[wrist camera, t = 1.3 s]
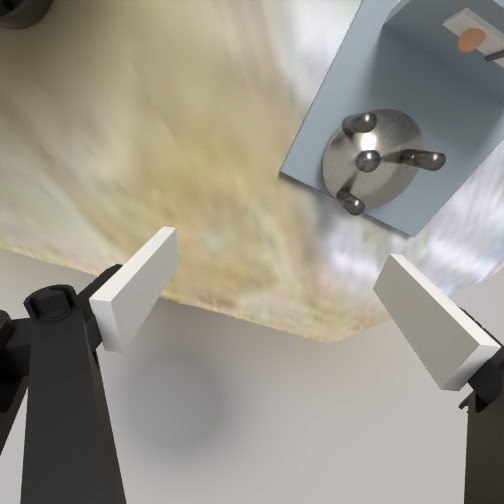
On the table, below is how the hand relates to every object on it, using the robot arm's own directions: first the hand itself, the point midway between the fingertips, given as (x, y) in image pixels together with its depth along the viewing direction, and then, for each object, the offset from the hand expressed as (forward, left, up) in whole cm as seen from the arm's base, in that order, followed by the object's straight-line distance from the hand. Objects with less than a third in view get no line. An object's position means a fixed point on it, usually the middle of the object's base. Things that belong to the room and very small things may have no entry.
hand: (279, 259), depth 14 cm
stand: (+12, +12, -23) cm, 29 cm away
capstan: (+10, +8, -21) cm, 25 cm away
